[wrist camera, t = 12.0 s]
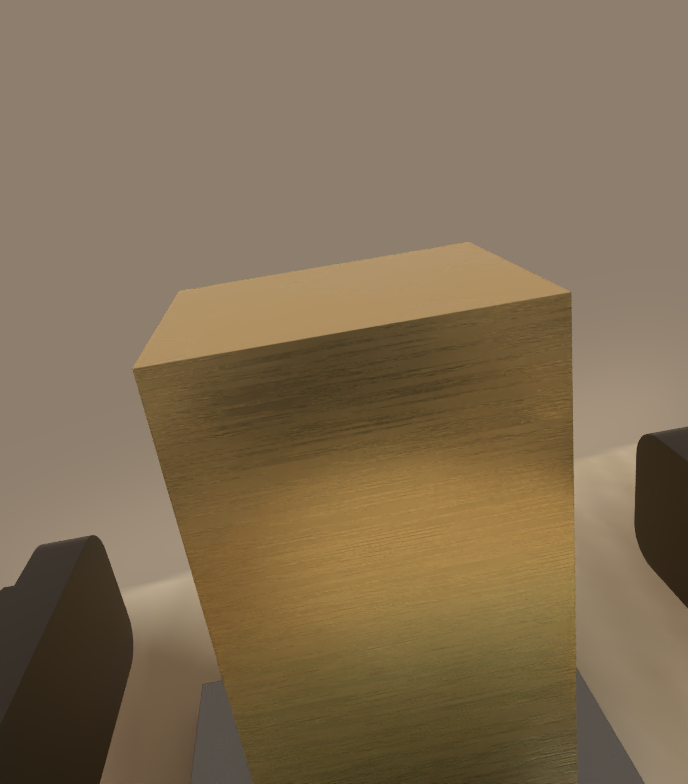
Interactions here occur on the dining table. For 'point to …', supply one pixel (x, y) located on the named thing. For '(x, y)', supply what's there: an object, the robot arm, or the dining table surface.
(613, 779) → the base
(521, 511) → the brass block
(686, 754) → the dining table surface
